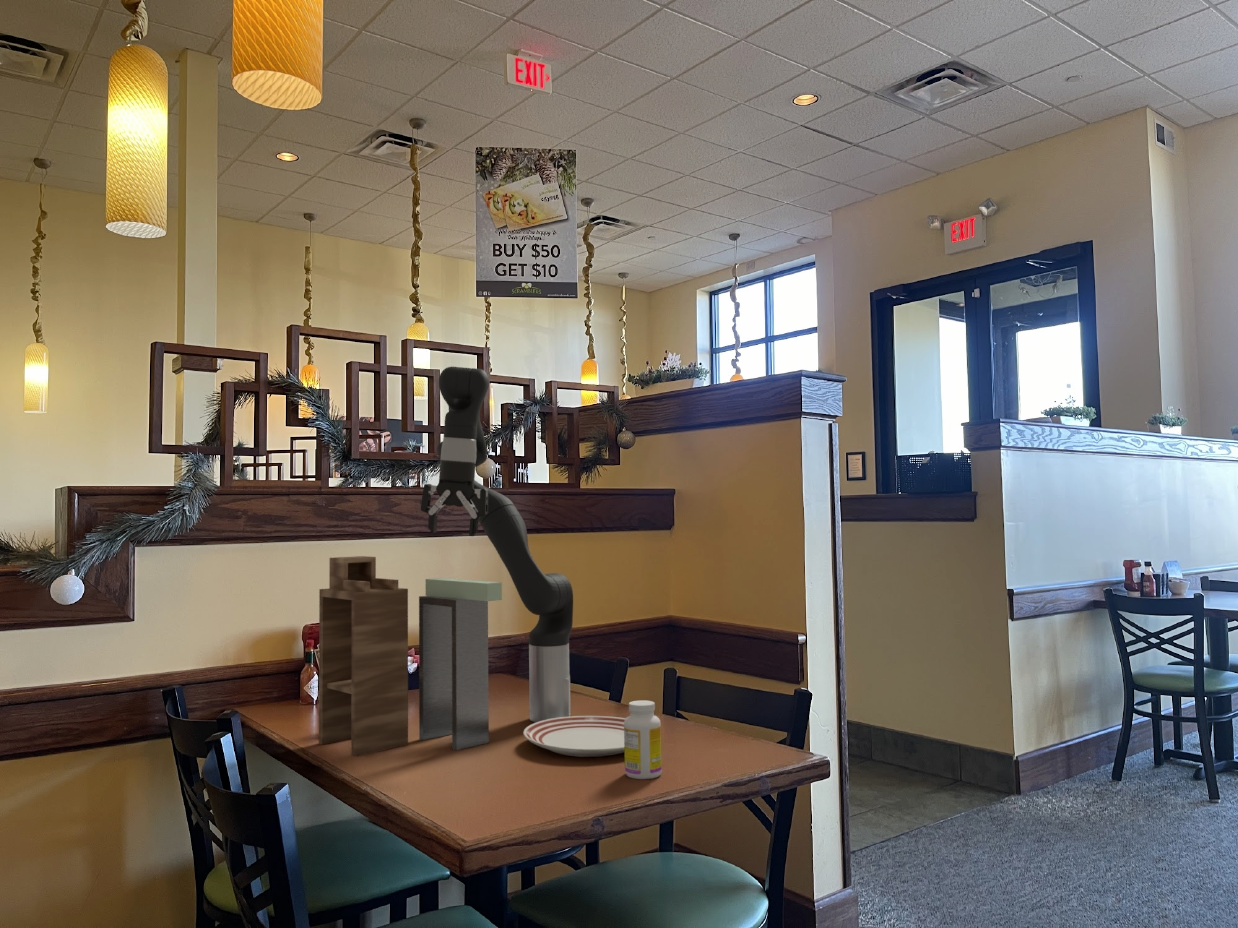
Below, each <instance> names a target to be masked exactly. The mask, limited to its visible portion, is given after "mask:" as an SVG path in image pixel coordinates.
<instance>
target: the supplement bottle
mask: <svg viewBox="0 0 1238 928" xmlns="http://www.w3.org/2000/svg"><path fill="white" fill-rule="evenodd" d="M655 709H656V704H655V702H654V701H652V700H641V699H640V700H633V701H630V702H628V710H629V713H630V714H629V716H627V717H625V718H626V719H625V721H624V749H625V752H624V772H625V775H626V776H627V777H628V778H631V779H634V780H650V779H656V778H658V777H660V776H661V774H662V771H663V770H662V766H663V765H662V730H661V728H662V726H661V725H662V724H661V719H660V718H659V717H658V716H657V715H655V713H654V712H655Z"/></svg>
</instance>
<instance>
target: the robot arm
mask: <svg viewBox="0 0 1238 928" xmlns="http://www.w3.org/2000/svg"><path fill="white" fill-rule="evenodd" d="M489 385H490V380H489V376H488V374H487V372H486V371H485V370H484V369H482V368H475V367H473V368H472V367H463V366H447V367H446V368H444V369H443V370H442V371H441V372H440V374H439V378H438V387H439V391H440V394H441V396H442V398H443V400H444V401H445V403H446V404H447V406H448V411H447V412H446V413H445V415H444V425H443V428H444V429H443V440H442V441H440V442H439V443H438V445H437V447H436V451H437V455H438V457H439V460H440V462H439V463H440V464H439V465H440V466H439V475H438V477H439V478H438V484H437V485H433V484H431V483H425V484H424V485H423V489H422V496H421V497H422V498H421V504H420V510H421V512H423V513H426V514H427V515H428V523H427V524H428V525H427V527H428V530H430V533H431V534H435V533H437V531H438V530H437V529H438V515H437V514H438V513H439V511H440V510H441V509H442V508H444V507H445V506H447V507H453V506H455V507H459V508H462V507H464V508H465V510H466V511H467V512H468V514H469V515H470V517H471V518H470V519H469V531H468V536H469V537H474V536H475V535H476V534H477V533H478V531H479V524H480V526H481V527H482V529H483V531H484V533H485V534H486V536H487V538H488V540H489V541H490V542H491V544H492V545H493V547H494V549H495V551H496V553H497V554H498V556H499V557H500V559H501V561H502V563H503V565H504V566H505V568H506V570H507V572H508V574H509V576H510V578H511V580H512V582H513V585H514V586H515V589H516V590H517V591H516V592H517V593H518V596H519V598H520V601H521V602H522V603H523V605H524V607H525V608H526V609H527V611H529V612H530V613H531V614H533V615H536V616H538V620H537V624H536V625H535V626H534V627H533V629H532V630H530V631H529V635H528V661H529V662H528V663H529V664H528V665H529V666H528V668H529V669H528V670H529V671H528V675H529V676H528V678H529V682H528V684H529V686H528V687H529V689H528V690H529V692H528V693H529V712H528V713H529V720H530V721H531V722H533V723H536V722H539V721H543V720H547V719H552V718H558V717H569V716H571V674H570V635H571V633H572V630H573V620H574V619H573V618H574V592H573V587H572V584H571V582H570V580H569V579H568V577H566V575H564V574H562V573H557V572H556V573H555V572H554V573H544V572H543V571H542V570H541V568H540V567H539V566H538V564H537V563H536V561H535V559H534V558H533V556H532V554H531V552H530V548H529V547H530V546H529V538H528V530H527V526H526V523H525V521H524V519H523V517H522V515H521V513H520V512H519V510H518V509H517V507H516V505H515V504H514V503H513V501H512V500H511V499H509V498H508V497H507V496H506V495H504V494H502V493H499V492H498V491H495V490H494V489H491V488H489V487H487V486H484V485H483V484H481V483H480V482H478V481H476V480H475V476H476V475H475V474H476V468H477V467H479V466H481V465H482V464H484V463H486V461H487V458H488V447H487V442H486V438H485V434H484V429H483V426H482V423H481V409H482V406H483V403H484V400H485V398H486V395H487V393H488V390H489ZM435 492H436V493H437V495H438V496H439V498H438V499H437V500H436V501H435V502H434V504H433V505H432V507H431V501H432V500H431V499H432V495H434V494H435Z"/></svg>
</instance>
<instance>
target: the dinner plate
mask: <svg viewBox="0 0 1238 928" xmlns="http://www.w3.org/2000/svg"><path fill="white" fill-rule="evenodd" d="M626 718H627V717H618V716H607V715H605V716H604V715H574V716H573V715H572V716H571V715H570V716H569V717H558V718H552V719H547V720H543V721H539V722H533V723H531V724H530V725H528V726H526V727H525V728H524V729H523V732H522V734H523V736H524V738H525V739H527V740H528V741H529V742H530V743H532V744H533V745H536V746H538V747H540V748H543V749H545V750H549V751H551V752H553V753H556V754H560V755H565V756H568V757H569V756H571V757H579V758H580V757H583V758H584V757H588V758H590V757H591V758H592V757H606V756H613V755H618V754H623V753H625V749H624V721H625V719H626Z"/></svg>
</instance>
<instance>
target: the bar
mask: <svg viewBox="0 0 1238 928" xmlns="http://www.w3.org/2000/svg"><path fill="white" fill-rule="evenodd" d="M502 585H503V584H502V582H499V581H489V580H487V581H486V580H475V579H474V580H471V579H459V578H458V579H457V578H444V577H439V578H438V577H435V578H426V579H425V596H437V597H448V598H458V599H469V600H479V601H488V602H494V601H502V600H503V599H502V598H503V597H502V595H503V593H502V590H503V589H502Z"/></svg>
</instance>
